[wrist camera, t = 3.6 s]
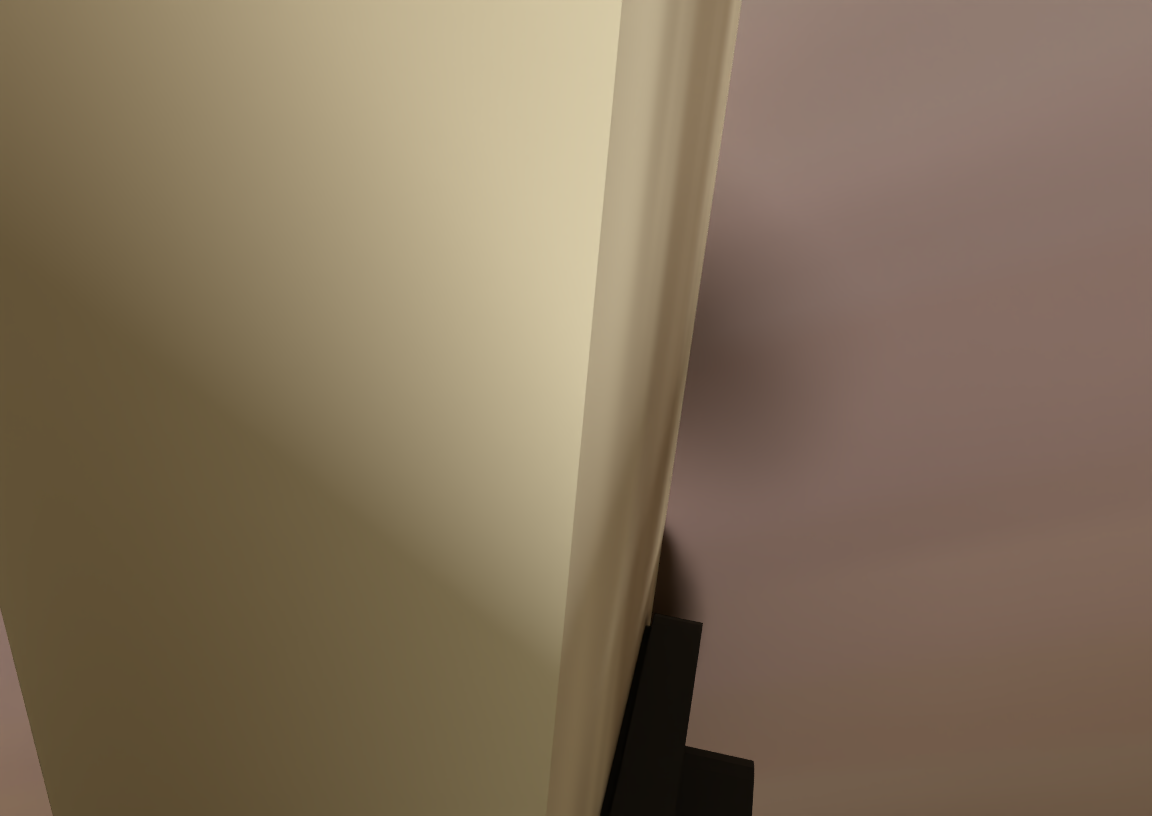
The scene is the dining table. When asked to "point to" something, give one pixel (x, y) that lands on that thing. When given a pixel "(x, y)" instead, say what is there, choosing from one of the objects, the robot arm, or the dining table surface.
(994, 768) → the dining table surface
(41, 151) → the slat
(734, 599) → the dining table surface
